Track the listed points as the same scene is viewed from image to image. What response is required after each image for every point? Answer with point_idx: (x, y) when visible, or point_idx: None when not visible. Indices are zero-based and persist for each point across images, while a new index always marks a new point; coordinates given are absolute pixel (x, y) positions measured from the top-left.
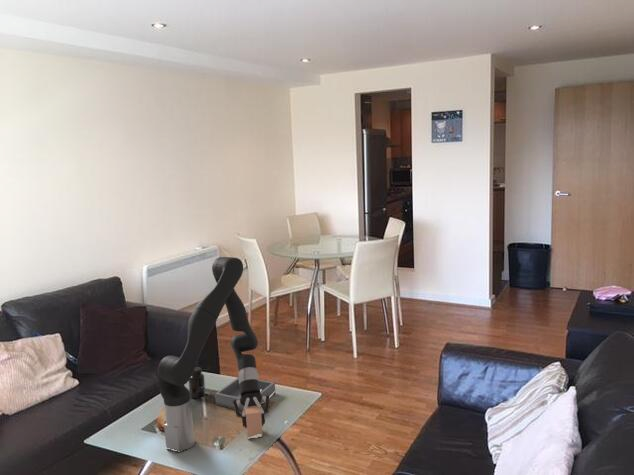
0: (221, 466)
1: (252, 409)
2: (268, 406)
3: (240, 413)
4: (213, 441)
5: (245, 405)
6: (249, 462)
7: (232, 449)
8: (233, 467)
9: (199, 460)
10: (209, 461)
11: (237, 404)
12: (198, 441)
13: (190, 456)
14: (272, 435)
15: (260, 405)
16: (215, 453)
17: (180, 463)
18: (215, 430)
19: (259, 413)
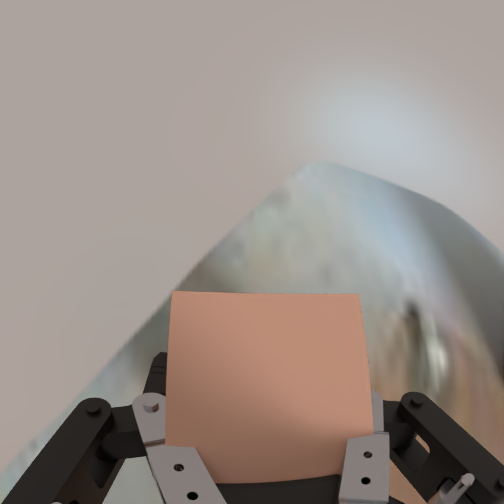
0: (387, 193)
1: (277, 391)
2: (62, 429)
3: (396, 418)
4: (451, 376)
5: (376, 465)
6: (285, 178)
7: (366, 288)
8: (344, 174)
9: (463, 251)
10: (433, 234)
11: (461, 477)
12: (495, 382)
13: (493, 284)
14: (135, 357)
15: (151, 452)
16: (428, 278)
17: (501, 254)
18: None
19: (195, 297)
